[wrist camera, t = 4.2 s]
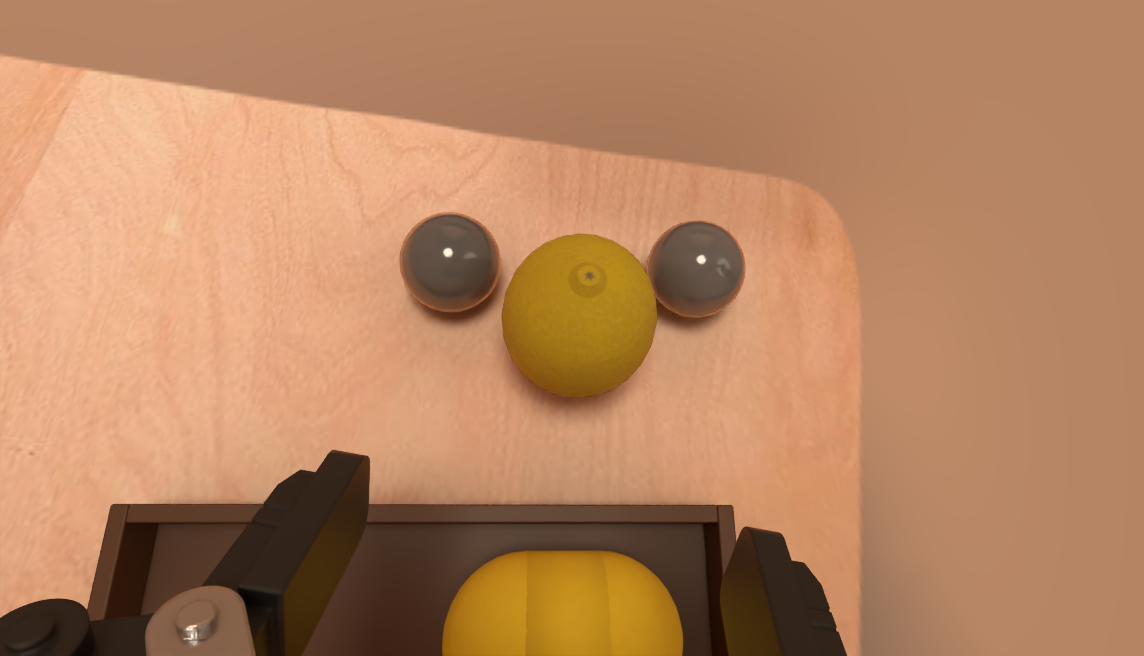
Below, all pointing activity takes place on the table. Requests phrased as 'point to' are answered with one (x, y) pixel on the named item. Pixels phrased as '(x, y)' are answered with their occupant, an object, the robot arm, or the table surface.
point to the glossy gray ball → (696, 269)
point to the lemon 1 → (579, 315)
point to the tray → (421, 563)
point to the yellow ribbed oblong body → (562, 608)
